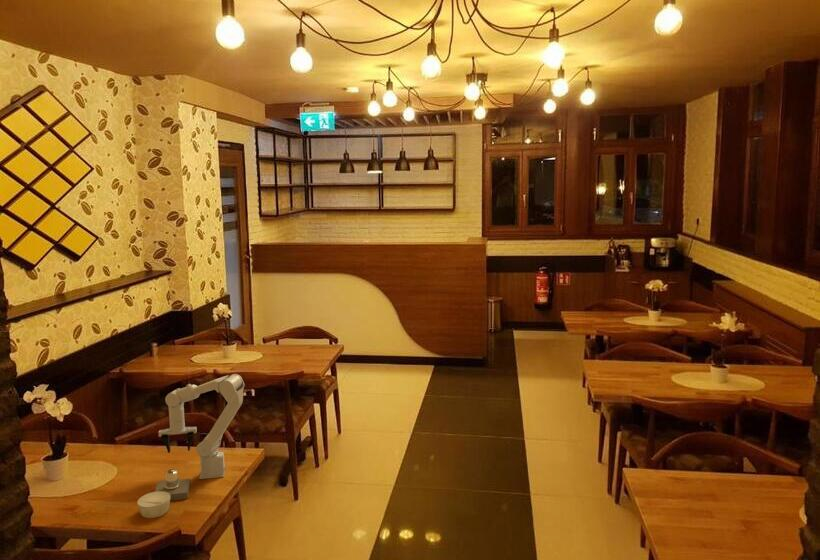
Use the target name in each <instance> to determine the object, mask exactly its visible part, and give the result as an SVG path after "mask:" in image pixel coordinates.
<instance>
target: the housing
mask: <svg viewBox="0 0 820 560" xmlns="http://www.w3.org/2000/svg"><path fill="white" fill-rule="evenodd" d="M164 475H165V477H164V478H165V481H166V485H165V489H167V490H173V489H176V488H178V487H179V482H178V480H179V477H178V470H177V469H174V468H172V469H168V470H167V471H165V472H164Z"/></svg>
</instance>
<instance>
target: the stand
mask: <svg viewBox="0 0 820 560" xmlns="http://www.w3.org/2000/svg"><path fill="white" fill-rule="evenodd" d="M178 482H179V487H178V488H176V489H173V490H167V489H165V485H166V480H163V481H161V480H160V481H157V484H156V487H155V490H154V492H158V491H162V492H167V493H169V494H170V502H171V501H179V500H180V499H181V500H187V499H189V498H188V497H189V494H190V490H189V489H191V484H192V482H191V478H190V477H189V478H180V479H179V478H178ZM188 493H189V494H188Z"/></svg>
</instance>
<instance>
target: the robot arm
mask: <svg viewBox="0 0 820 560" xmlns="http://www.w3.org/2000/svg"><path fill="white" fill-rule="evenodd" d="M245 385H246V384H245V382H244V380H243V378H242V376H241V375H239V374H237V373H232V374H231V375H228V374H227V375H225V376H221V377H219V378H216V379H212V380H210V381H207V382H206V383H202V384H200V385H196V384H191V383H188V384H186V385H185V387H182V388H180V387H178V388H176V389H174V390H173V391H171V392H170V393H169V392H168V393H167V395H166V396H165V399H164V400H165V404H166V405H167V406H168V419H169V428H165V429H160V430H158V437H161V441H162V442H163V443H164V445H165V447H166V449H167V453H168V454H169V453H171V444H170V436H174V435H183V434H187V435H186V439H187V451H188V452H190V451H191V443H192V440H193V438H194V435H195V434H197V431H198V430H197V426H186V423H185V408H184V407H185V406H184V405H185V403H186V402H191V401H193V400H195V399H197V398H199V397H200V395H201V394H204V393H207V392H211V391H214V390H215V391H216V393H220V395H222V397H223V398H224V400H225V401H226V402H227V404H226V406H225V407H224V409H223V411H222V412H221V414H220V415H219V417H218V418H217V420H216V421H215V423H214V424H213V426H212V428H211V429H210V431H209V432H208V433H207V435H206V436H205V437H204V438H203V440H202V441H201V442H199V443H198V444H197V445H196V453H197V455H198V456H199V460H200V474H199V477H198V478H199V480H207V479H215V478H224V477H225V470H226V464H225V454H224V451H222V452H221V451H219V447H220V446H221V442H222V438H223V435H224V433H225V432H226V431H227V428H228V426H229V425H230V424H231V422H232V420H233V419H234V417H235V416H236V414H237V412H238V411H239V409H240V408H241V407H242V405H243V401H244V388H245Z"/></svg>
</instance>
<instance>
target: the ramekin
mask: <svg viewBox="0 0 820 560" xmlns="http://www.w3.org/2000/svg"><path fill="white" fill-rule="evenodd" d="M136 503H137V507H138V510H139V513H140V515H141V516H142V518H147V519H155V518H160V517H162V516H164V515H165V514H166V513H168V511H169V509H170V503H171V501H170V494H169V493H167V492H162V491H158V492H155V491H153V492H148V493H146V494H144V495H142V496H141V497H140V498H138V500H137V502H136Z"/></svg>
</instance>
